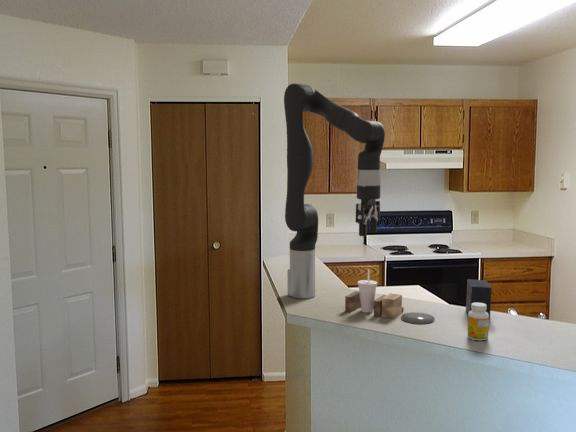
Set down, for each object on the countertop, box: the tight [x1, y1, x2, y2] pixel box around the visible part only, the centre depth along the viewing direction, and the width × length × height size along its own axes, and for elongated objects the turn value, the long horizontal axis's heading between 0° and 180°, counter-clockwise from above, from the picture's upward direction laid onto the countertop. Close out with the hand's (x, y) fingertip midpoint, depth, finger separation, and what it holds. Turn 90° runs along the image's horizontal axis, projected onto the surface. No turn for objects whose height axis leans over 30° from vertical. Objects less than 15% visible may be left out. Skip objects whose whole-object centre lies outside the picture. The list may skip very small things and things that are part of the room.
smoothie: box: [357, 268, 378, 314], centre depth 176 cm, size 6×6×14 cm
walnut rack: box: [344, 290, 405, 319], centre depth 175 cm, size 16×9×6 cm, turn 58°
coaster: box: [401, 311, 435, 325], centre depth 168 cm, size 10×10×1 cm
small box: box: [465, 278, 492, 321], centre depth 171 cm, size 11×6×10 cm, turn 168°
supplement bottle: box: [467, 302, 490, 341], centre depth 149 cm, size 5×5×10 cm
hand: (367, 234), depth 174 cm, fingers open, 8 cm apart
